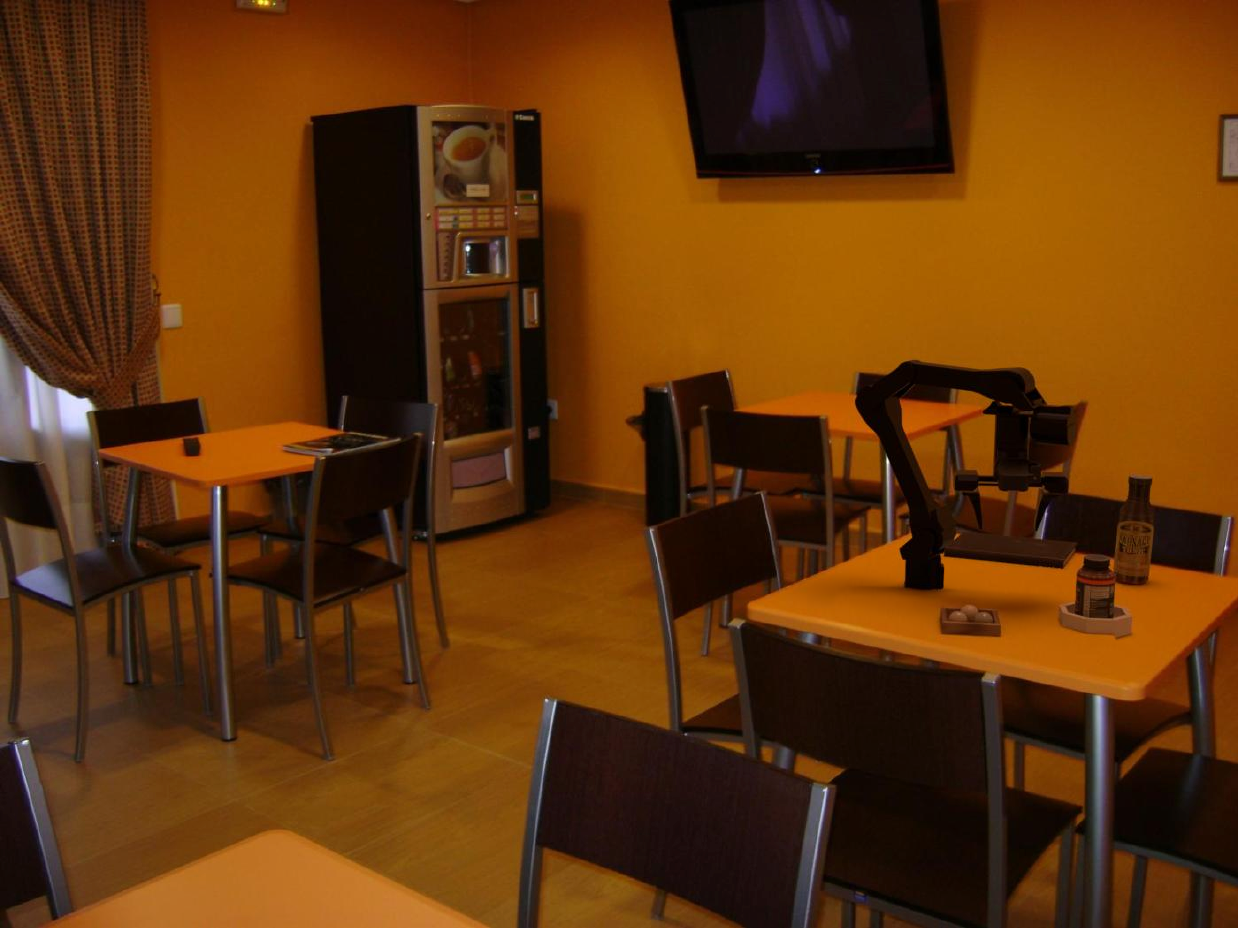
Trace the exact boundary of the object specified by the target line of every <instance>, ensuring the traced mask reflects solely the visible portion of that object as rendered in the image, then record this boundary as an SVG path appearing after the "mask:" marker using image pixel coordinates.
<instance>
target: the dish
mask: <svg viewBox="0 0 1238 928" xmlns="http://www.w3.org/2000/svg"><path fill="white" fill-rule="evenodd" d="M1058 608H1059V610H1058V611H1059V612H1058V620H1059V621H1060V624H1061V626H1062V627H1064V628H1067V629H1071V630H1075V631H1077V632H1082V633H1085V634H1106V635H1113V637H1114V638H1115V639H1118V638H1120V637H1121V638H1122V637H1125V636H1128V635H1131V634H1132V623H1133V615H1132V612H1130V610H1129V609H1128V607H1124V606H1121V605H1118V604H1114V615H1113V619H1106V618H1087V617H1083V616H1080V615H1076V614H1075V600H1074V601H1070V602H1066V603H1063V604H1060V605H1059V607H1058Z"/></svg>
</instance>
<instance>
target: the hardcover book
mask: <svg viewBox="0 0 1238 928" xmlns="http://www.w3.org/2000/svg"><path fill="white" fill-rule="evenodd" d="M1077 546H1078V542H1075V541H1074V542H1073V541H1064V540H1063V541H1062V540H1052V539H1045V538H1044V539H1043V538H1034V537H1033V538H1032V537H1022V536H1013V535H1001V534H991V533H981V532H972V531H971V532H969V531H963V532H961V533H960V534H959V535H958V536H957V537H955V538H954V541H953V542H952V543H951V544H950V545H948V546H947V547H946V549H945V552H944V553H943V557H944V558H945V557H946V558H955V559H964V560H974V561H985V562H991V563H992V562H993V563H1003V564H1012V565H1020V566H1021V565H1022V566H1031V567H1039V566H1042V567H1041V568H1048V567H1051V568H1050V569H1058V568H1060V570H1063V569H1064V566H1065V565H1066V564H1067V563H1068V561H1069V560H1070V559H1071V558H1072V556H1073V555H1072V554H1075V552H1076V547H1077ZM1069 558H1070V559H1069ZM1068 559H1069V560H1068ZM1052 567H1054V568H1052Z"/></svg>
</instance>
